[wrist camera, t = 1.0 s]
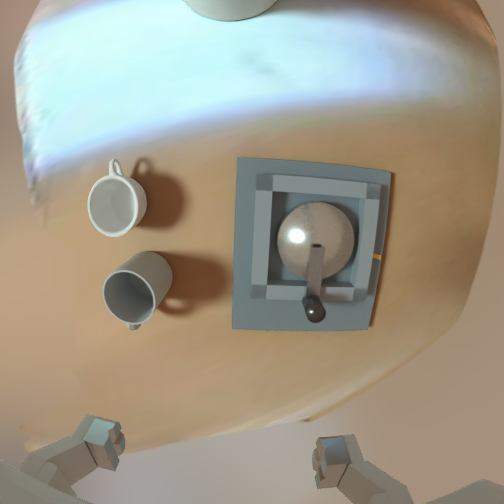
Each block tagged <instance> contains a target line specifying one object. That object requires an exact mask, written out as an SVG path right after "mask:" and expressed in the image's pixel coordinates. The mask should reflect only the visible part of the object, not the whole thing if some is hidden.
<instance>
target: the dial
mask: <svg viewBox="0 0 504 504" xmlns="http://www.w3.org/2000/svg"><path fill="white" fill-rule="evenodd" d="M353 246H354V232H353V228H352V225H351V223H350V221H349V219H348V218H347V216H346V215H345V214H344V213H343V212H342V211H341V210H339V209H338V208H336V207H335V206H332V205H330V204H328V203H325V202H321V201H308V202H304V203H301V204H299V205H297V206H295V207H293V208H292V209H291V210H289V211H288V212H287V213H286V215H285V216H284V217H283V219H282V220H281V222H280V224H279V227H278V231H277V248H278V251H279V254H280V257H281V259H282V261H283V263H284V264H285V265H286V267H287V268H288V269H289V270H290V271H291V272H293V273H294V274H296V275H298V276H300V277H303V278H306V279H307V281H306V290H305V296H304V297H303V299H302V305H303V307H304V310H305V313H306V316H307V318H308V320H309V321H310V322H312V323H319V322H321V321H322V320H324V318H325V316H326V310H325V308H324V306H323V304H322V302H321V300H320V298H319V296H320V289H321V281H322V279H323V278H326V277H329V276H331V275H333V274H335V273H336V272H338V271H339V270H340V269H341V268H342V267H343V266H344V265H345V264H346V263H347V261H348V260H349V258H350V256H351V254H352V250H353Z"/></svg>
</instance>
